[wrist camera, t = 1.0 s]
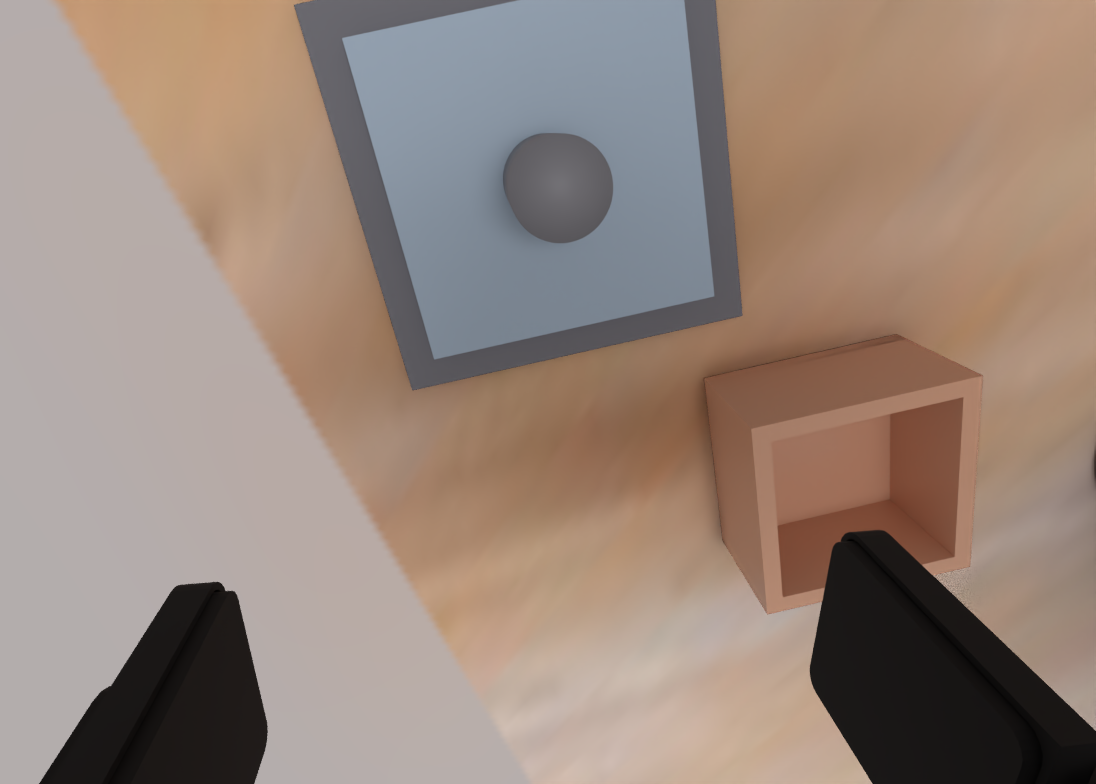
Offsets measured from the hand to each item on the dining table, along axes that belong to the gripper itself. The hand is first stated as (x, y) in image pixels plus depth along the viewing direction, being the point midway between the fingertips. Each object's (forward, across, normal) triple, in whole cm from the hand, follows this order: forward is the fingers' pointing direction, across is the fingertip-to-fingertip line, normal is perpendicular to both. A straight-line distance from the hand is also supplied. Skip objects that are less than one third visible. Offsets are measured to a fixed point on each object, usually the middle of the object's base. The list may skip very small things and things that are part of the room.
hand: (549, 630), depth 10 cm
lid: (+21, -2, -5) cm, 22 cm away
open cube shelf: (+21, -16, +8) cm, 28 cm away
